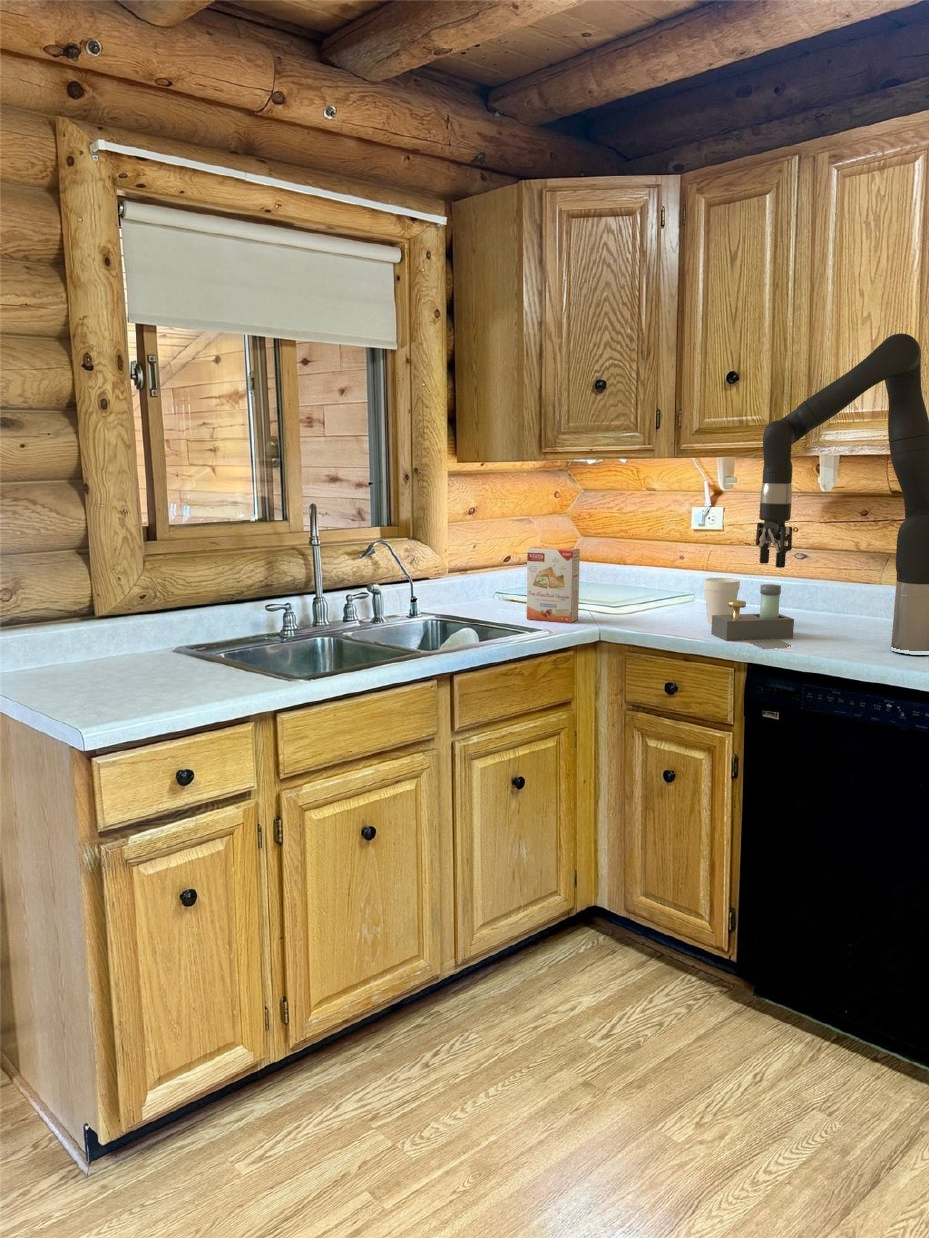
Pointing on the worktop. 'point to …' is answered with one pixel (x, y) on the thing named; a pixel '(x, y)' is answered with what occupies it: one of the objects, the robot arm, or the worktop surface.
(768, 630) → the block
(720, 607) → the foam cup
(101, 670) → the worktop surface
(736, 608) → the brass plunger
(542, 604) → the cracker box
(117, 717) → the worktop surface
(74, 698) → the worktop surface
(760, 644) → the slate mat
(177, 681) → the worktop surface
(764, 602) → the cylinder
